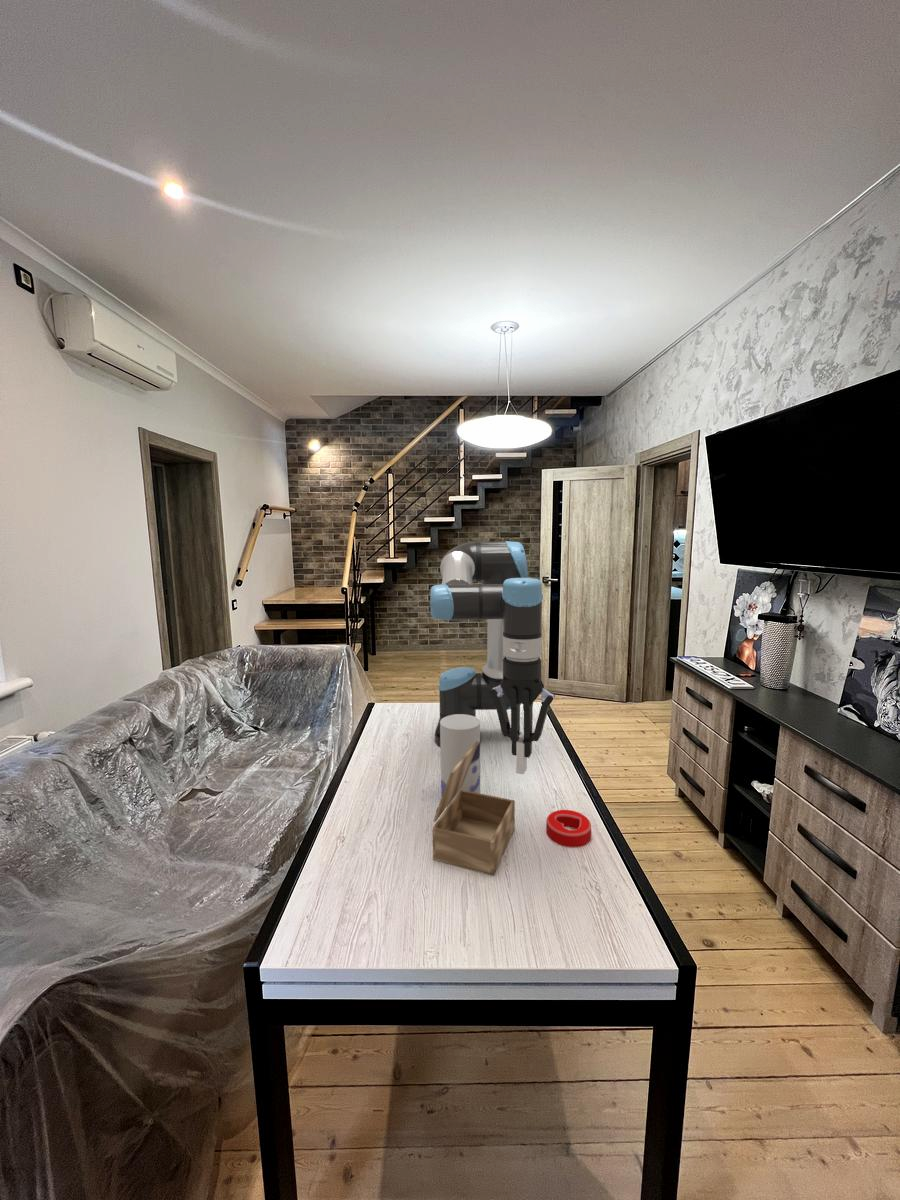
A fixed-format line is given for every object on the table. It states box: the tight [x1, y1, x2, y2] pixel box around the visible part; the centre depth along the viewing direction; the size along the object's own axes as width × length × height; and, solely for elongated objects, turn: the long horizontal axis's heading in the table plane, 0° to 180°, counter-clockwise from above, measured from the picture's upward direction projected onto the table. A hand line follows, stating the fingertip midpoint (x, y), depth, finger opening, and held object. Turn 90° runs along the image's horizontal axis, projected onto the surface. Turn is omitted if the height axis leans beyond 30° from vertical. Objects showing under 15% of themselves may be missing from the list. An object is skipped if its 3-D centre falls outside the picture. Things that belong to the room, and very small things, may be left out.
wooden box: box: [431, 790, 516, 877], centre depth 104 cm, size 16×13×7 cm
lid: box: [432, 741, 479, 823], centre depth 104 cm, size 15×12×1 cm
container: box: [439, 714, 481, 805], centre depth 122 cm, size 10×10×20 cm
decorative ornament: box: [545, 809, 592, 848], centre depth 107 cm, size 10×10×3 cm
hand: (521, 770), depth 98 cm, fingers closed
